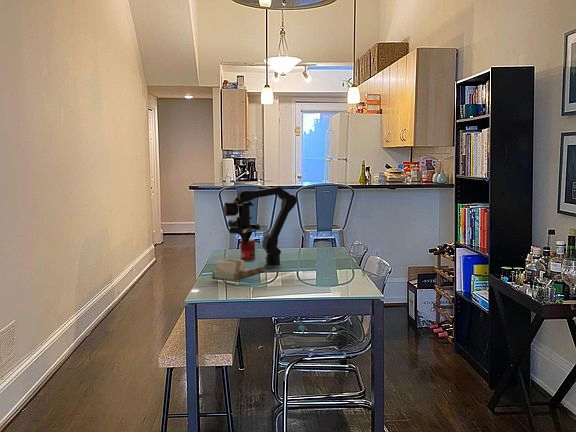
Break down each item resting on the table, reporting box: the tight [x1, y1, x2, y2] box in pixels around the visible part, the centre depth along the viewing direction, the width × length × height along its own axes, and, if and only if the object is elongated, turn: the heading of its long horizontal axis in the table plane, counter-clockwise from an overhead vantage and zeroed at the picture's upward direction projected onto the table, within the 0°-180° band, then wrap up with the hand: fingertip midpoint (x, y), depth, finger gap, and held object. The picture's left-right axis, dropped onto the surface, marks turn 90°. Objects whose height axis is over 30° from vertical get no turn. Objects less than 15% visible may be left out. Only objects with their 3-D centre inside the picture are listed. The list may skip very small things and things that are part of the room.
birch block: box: [216, 258, 245, 274], centre depth 267 cm, size 8×10×8 cm
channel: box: [212, 265, 266, 283], centre depth 273 cm, size 23×14×4 cm, turn 146°
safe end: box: [213, 272, 235, 283], centre depth 267 cm, size 10×14×4 cm
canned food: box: [240, 237, 256, 260], centre depth 320 cm, size 8×8×11 cm
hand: (245, 245), depth 290 cm, fingers closed
